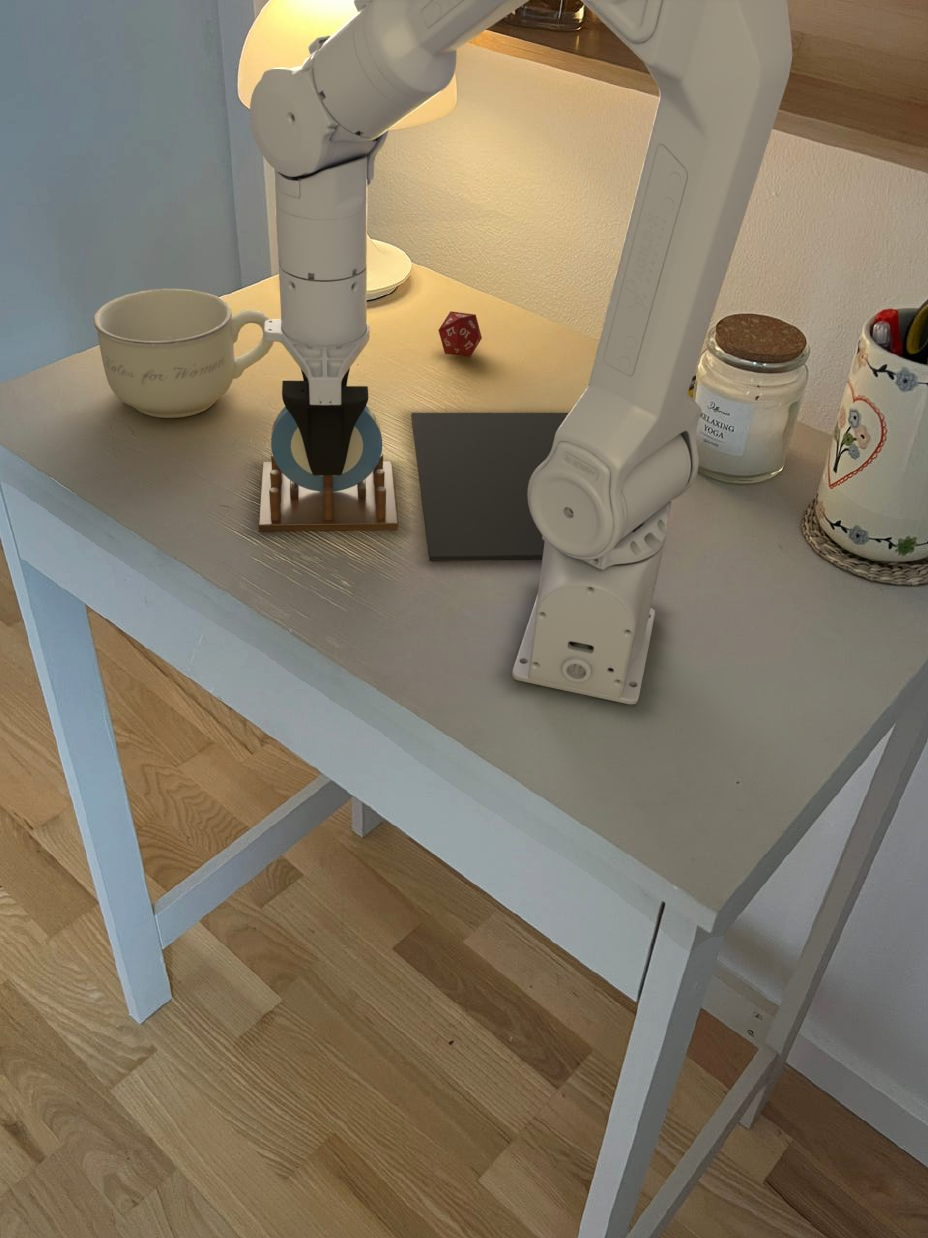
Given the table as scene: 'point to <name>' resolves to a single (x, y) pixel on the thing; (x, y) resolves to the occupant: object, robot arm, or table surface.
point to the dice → (460, 334)
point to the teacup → (173, 349)
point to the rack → (327, 503)
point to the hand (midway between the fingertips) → (326, 443)
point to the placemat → (481, 482)
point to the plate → (358, 461)
